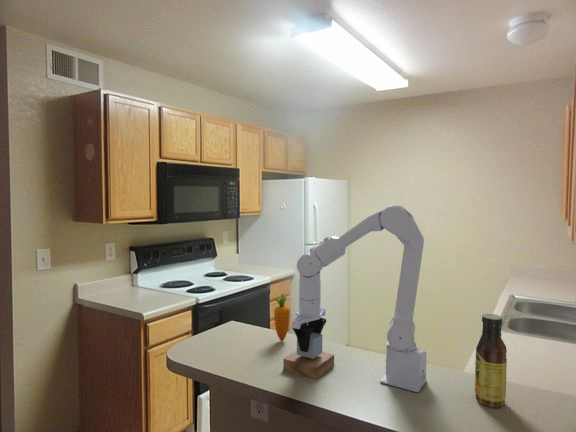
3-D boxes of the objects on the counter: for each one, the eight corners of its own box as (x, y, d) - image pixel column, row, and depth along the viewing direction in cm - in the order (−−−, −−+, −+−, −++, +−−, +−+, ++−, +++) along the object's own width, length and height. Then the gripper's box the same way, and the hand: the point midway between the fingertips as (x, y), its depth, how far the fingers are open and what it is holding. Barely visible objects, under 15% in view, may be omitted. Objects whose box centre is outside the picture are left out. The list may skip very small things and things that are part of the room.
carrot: (283, 345, 124) (283, 297, 123) (270, 341, 127) (271, 295, 126) (292, 340, 128) (293, 294, 127) (280, 337, 131) (280, 292, 130)
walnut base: (334, 365, 110) (334, 354, 110) (316, 379, 101) (316, 367, 101) (302, 357, 115) (302, 346, 115) (283, 369, 107) (283, 358, 107)
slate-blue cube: (322, 352, 109) (322, 334, 108) (313, 358, 104) (313, 339, 104) (306, 348, 111) (306, 330, 111) (296, 354, 107) (296, 336, 107)
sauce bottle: (478, 392, 95) (481, 309, 94) (508, 401, 91) (511, 314, 90) (470, 403, 90) (473, 316, 89) (501, 413, 86) (504, 321, 85)
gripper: (310, 290, 116) (309, 337, 116) (282, 301, 103) (281, 353, 104) (332, 294, 112) (331, 342, 112) (305, 305, 100) (305, 359, 100)
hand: (309, 347), depth 108 cm, fingers closed on slate-blue cube, 5 cm apart
